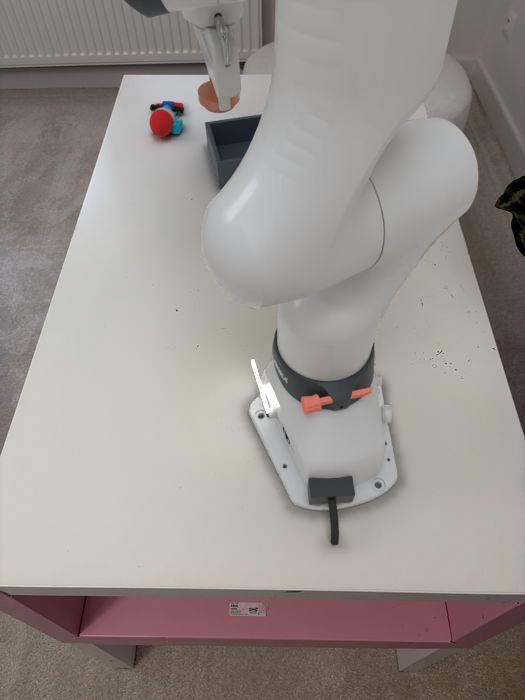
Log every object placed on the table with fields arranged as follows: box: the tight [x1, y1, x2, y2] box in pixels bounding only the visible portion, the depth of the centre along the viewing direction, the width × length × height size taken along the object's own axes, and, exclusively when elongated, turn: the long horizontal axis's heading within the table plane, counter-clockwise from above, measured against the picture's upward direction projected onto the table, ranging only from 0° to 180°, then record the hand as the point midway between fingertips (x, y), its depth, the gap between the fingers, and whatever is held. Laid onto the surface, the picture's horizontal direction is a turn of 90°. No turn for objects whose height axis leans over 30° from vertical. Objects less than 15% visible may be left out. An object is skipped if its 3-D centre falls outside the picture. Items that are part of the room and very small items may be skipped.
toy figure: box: [149, 100, 185, 138], centre depth 109 cm, size 8×5×15 cm
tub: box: [204, 113, 262, 190], centre depth 101 cm, size 14×14×6 cm
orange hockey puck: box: [197, 80, 241, 114], centre depth 85 cm, size 7×7×2 cm
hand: (219, 94), depth 85 cm, fingers closed on orange hockey puck, 7 cm apart
